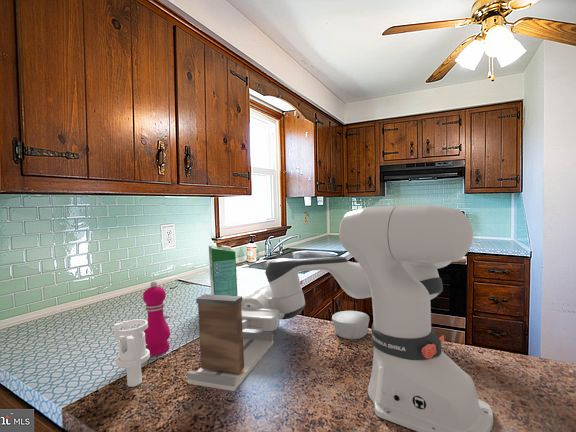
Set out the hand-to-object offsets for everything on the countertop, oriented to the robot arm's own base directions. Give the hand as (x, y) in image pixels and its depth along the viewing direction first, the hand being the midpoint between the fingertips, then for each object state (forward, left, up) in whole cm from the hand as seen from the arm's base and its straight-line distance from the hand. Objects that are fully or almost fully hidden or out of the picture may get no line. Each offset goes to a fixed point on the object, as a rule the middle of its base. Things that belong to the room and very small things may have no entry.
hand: (231, 329), depth 81 cm
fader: (-3, +5, -7) cm, 9 cm away
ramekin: (-12, -34, -9) cm, 38 cm away
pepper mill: (+22, +12, -9) cm, 26 cm away
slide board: (0, 0, -8) cm, 8 cm away
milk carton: (+40, -21, -9) cm, 46 cm away
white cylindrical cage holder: (+9, +22, -9) cm, 25 cm away
